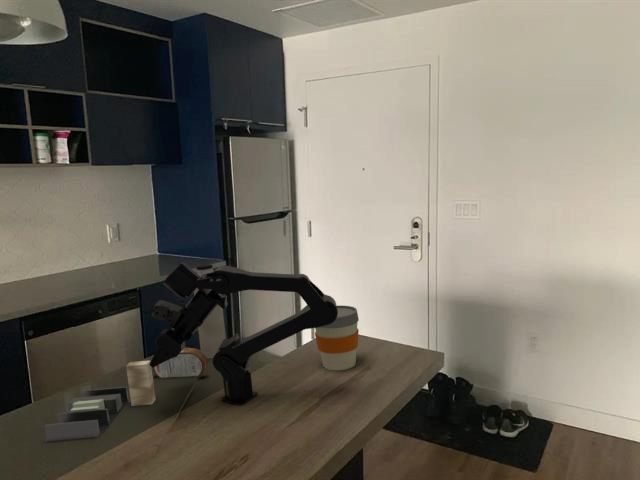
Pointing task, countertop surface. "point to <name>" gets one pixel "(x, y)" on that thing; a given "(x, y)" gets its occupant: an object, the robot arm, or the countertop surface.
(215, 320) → the thermos bottle
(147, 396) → the light wooden block
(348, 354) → the reusable coffee cup
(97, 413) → the rack
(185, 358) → the tin
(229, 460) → the countertop surface
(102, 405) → the offcuts
